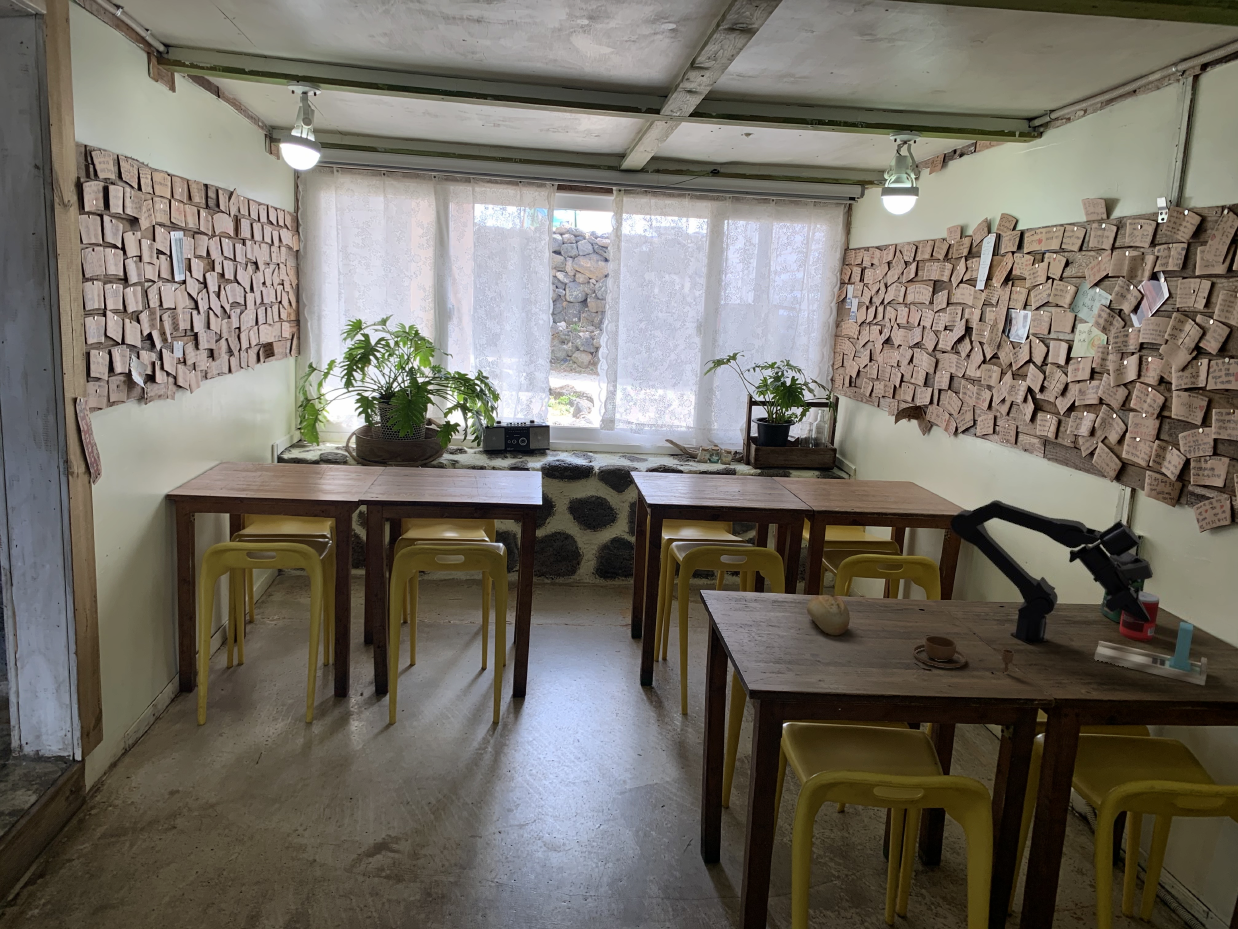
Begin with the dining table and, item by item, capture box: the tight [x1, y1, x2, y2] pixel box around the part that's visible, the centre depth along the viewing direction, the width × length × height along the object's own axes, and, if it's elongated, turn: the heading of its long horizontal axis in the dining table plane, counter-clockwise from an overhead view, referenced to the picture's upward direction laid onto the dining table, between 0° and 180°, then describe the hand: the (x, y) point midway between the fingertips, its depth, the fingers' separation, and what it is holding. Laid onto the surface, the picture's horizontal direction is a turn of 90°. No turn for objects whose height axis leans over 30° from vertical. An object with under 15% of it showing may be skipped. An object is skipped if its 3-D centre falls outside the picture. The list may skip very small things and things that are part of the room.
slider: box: [1169, 621, 1194, 672], centre depth 197 cm, size 4×6×10 cm, turn 146°
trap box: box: [1093, 640, 1208, 686], centre depth 201 cm, size 22×9×4 cm, turn 56°
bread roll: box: [806, 594, 851, 636], centre depth 218 cm, size 10×15×8 cm, turn 11°
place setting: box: [912, 635, 1015, 673], centre depth 197 cm, size 18×20×6 cm
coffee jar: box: [1100, 551, 1147, 623], centre depth 231 cm, size 10×8×19 cm
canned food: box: [1119, 591, 1160, 642], centre depth 220 cm, size 8×8×11 cm
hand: (1148, 621), depth 200 cm, fingers closed
